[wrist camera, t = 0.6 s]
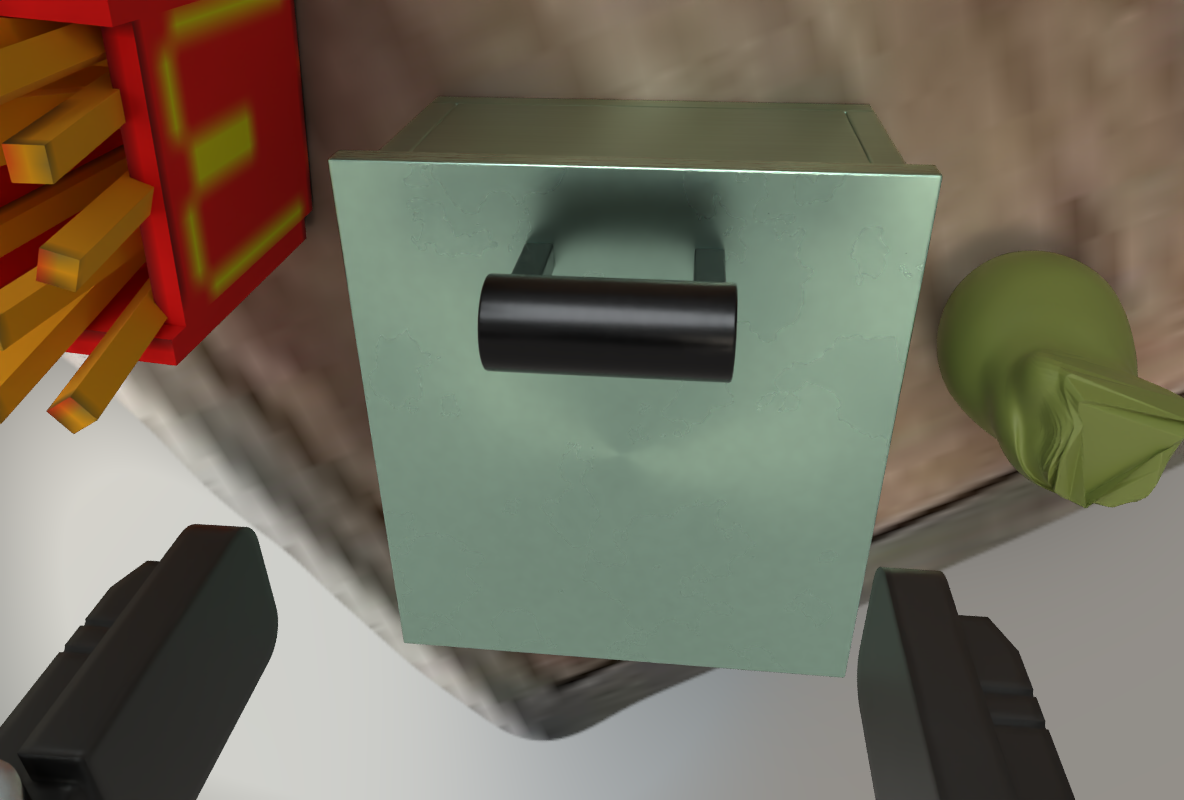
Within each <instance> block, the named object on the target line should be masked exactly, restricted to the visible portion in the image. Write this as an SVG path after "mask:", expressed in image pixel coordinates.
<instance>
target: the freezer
mask: <svg viewBox="0 0 1184 800" xmlns="http://www.w3.org/2000/svg"><path fill="white" fill-rule="evenodd" d="M379 151H402V152H442V153H481V154H521V155H561V156H600V157H640V158H679V159H719V160H759V161H798V162H838V163H878V164H906V163H905V161H904V160H903V158H902V156H901V155H900V153H899V151H898V150H897V148H896V147H895V145H894V143H893V142H892V140H891V138H890V137H889V135H888V133H887V132H886V130H885V129H884V127H883V125H882V124H881V122H880V120H879V119H878V117H877V115H876V114H875V112H874V111H873V109H872V108H871V106H870V105H864V104H812V103H760V102H707V101H655V100H603V99H550V98H498V97H446V96H439V97H437V98H436V99H435V100H434V101H433V102H432V103H430V104H429V105H428V106H427V107H426V108H425V109H424V110H422V111H421V112H420V113H419V114H418V115H417V116H416V117H415V118H414V119H413V120H412V121H411V122H410V123H408V124H407V125H406V126H405V127H404V128H403V129H402V130H401V131H400V132H399V133H398V134H397V135H396V136H394V137H393V138H392V139H391V140H390V141H389V142H388V143H387V144H386V145H385V146H384V147H383V148H381V149H380V150H379Z"/></svg>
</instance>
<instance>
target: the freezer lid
mask: <svg viewBox="0 0 1184 800" xmlns="http://www.w3.org/2000/svg"><path fill="white" fill-rule="evenodd" d="M328 166H329V172H330V178H331V185H332V191H333V197H334V204H335V210H336V216H337V223H338V229H339V235H340V241H341V248H342V254H343V260H344V267H345V273H346V279H347V286H348V292H349V298H350V305H351V311H352V317H353V323H354V330H355V336H356V342H357V349H358V355H359V361H360V368H361V374H362V380H363V386H364V393H365V399H366V405H367V412H368V418H369V424H370V431H371V437H372V443H373V450H374V456H375V462H376V468H377V475H378V481H379V487H380V494H381V500H382V506H383V513H384V519H385V525H386V531H387V538H388V544H389V550H390V557H391V563H392V569H393V576H394V582H395V588H396V595H397V601H398V607H399V613H400V620H401V626H402V632H403V639H404V643H412V644H425V645H438V646H450V647H463V648H476V649H488V650H501V651H513V652H526V653H539V654H551V655H564V656H577V657H589V658H602V659H615V660H627V661H640V662H653V663H665V664H678V665H690V666H703V667H716V668H729V669H741V670H754V671H766V672H780V673H792V674H805V675H817V676H829V677H842V678H843V677H844V676H845V673H846V668H847V663H848V658H849V652H850V648H851V642H852V637H853V632H854V627H855V622H856V616H857V611H858V607H859V602H860V596H861V591H862V586H863V581H864V576H865V571H866V566H867V561H868V556H869V550H870V545H871V540H872V535H873V530H874V525H875V520H876V515H877V510H878V504H879V499H880V494H881V489H882V484H883V479H884V474H885V469H886V464H887V458H888V453H889V448H890V443H891V438H892V433H893V428H894V423H895V418H896V412H897V407H898V402H899V397H900V392H901V387H902V382H903V377H904V371H905V366H906V361H907V356H908V351H909V346H910V341H911V336H912V331H913V325H914V320H915V315H916V310H917V305H918V300H919V295H920V290H921V285H922V279H923V274H924V269H925V264H926V259H927V254H928V249H929V244H930V239H931V233H932V228H933V223H934V218H935V213H936V208H937V203H938V198H939V193H940V187H941V182H942V174H941V173H940V171H939V170H938V169H937V167H936V166H935V165H917V164H878V163H838V162H798V161H759V160H719V159H679V158H640V157H600V156H561V155H521V154H481V153H442V152H402V151H362V150H339V151H337V152H336V153H335V154H334V155H332V156H331V157H330V158H329V159H328Z"/></svg>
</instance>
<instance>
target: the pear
mask: <svg viewBox="0 0 1184 800" xmlns="http://www.w3.org/2000/svg"><path fill="white" fill-rule="evenodd" d="M937 358H938V364H939V368H940V372H941V375H942V378H943V380H944V383H945V385H946V387H947V389H948V390H949V392H950V394H951V395H952V397H953V398H954V400H955V401H956V402H957V404H958V405H959V406H960V407H961V408H962V410H963V411H964V412H965V413H966V414H967V415H968V416H969V417H970V418H971V419H972V420H973V421H974V422H975V423H976V424H977V425H979V426H980V427H981V428H982V429H983V430H985V431H986V432H987V433H989V434H990V435H991V436H993V437H994V438H996V439H997V440H998V442H999V445H1000V447H1001V449H1002V451H1003V453H1004V454H1005V456H1006V457H1007V459H1008V460H1009V462H1010V463H1011V464H1012V465H1013V467H1014V468H1015V469H1016V470H1017V471H1018V472H1019V473H1020V474H1022V475H1023V476H1024V477H1025V478H1027V479H1028V480H1030V481H1031V482H1033V483H1035V484H1037V485H1039V486H1041V487H1043V488H1045V489H1047V490H1049V491H1052V492H1055V493H1057V494H1058V495H1059V496H1060V497H1062V498H1065V499H1067V500H1070V501H1072V502H1074V503H1076V504H1078V505H1080V506H1082V507H1084V508H1088V506H1089V505H1091V504H1093V503H1095V504H1099V505H1102V506H1108V507H1116V506H1119V505H1122V504H1126V503H1130V502H1137V501H1138V500H1141V499H1143V498H1146V497H1147V496H1148V495H1149V494H1150V493H1151V491H1152V490H1153V489H1154V488H1155V486H1156V484H1157V483H1158V481H1159V479H1160V477H1161V475H1162V473H1163V471H1164V469H1165V466H1166V464H1167V462H1168V461H1169V459H1170V458H1171V456H1172V455H1173V454H1174V452H1175V450H1176V449H1177V447H1178V446H1179V444H1180V443H1181V442H1182V441H1183V440H1184V398H1183V397H1181V396H1179V395H1177V394H1175V393H1173V392H1171V391H1169V390H1167V389H1165V388H1162V387H1160V386H1158V385H1155V384H1153V383H1151V382H1148V381H1146V380H1143V379H1141V378H1138V377H1137V359H1136V351H1135V346H1134V341H1133V336H1132V332H1131V329H1130V325H1129V322H1128V319H1127V316H1126V314H1125V311H1124V309H1123V307H1122V305H1121V303H1120V301H1119V299H1118V297H1117V295H1116V293H1115V292H1114V290H1113V289H1112V288H1111V286H1110V285H1109V284H1108V283H1107V282H1106V281H1105V280H1104V279H1103V278H1102V277H1101V276H1100V275H1099V274H1098V273H1096V272H1095V271H1094V270H1092V269H1091V268H1089V267H1088V266H1086V265H1084V264H1083V263H1081V262H1079V261H1077V260H1074V259H1072V258H1069V257H1067V256H1063V255H1060V254H1056V253H1051V252H1045V251H1018V252H1012V253H1007V254H1004V255H1000V256H998V257H995V258H993V259H990V260H988V261H987V262H985V263H983V264H981V265H980V266H978V267H977V268H976V269H974V270H973V271H972V272H971V273H969V274H968V275H967V276H966V277H965V278H964V279H963V280H962V281H961V282H960V284H959V285H958V286H957V287H956V289H955V290H954V291H953V293H952V294H951V296H950V298H949V299H948V301H947V303H946V305H945V308H944V310H943V313H942V316H941V319H940V323H939V327H938V333H937Z"/></svg>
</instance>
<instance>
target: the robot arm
mask: <svg viewBox="0 0 1184 800" xmlns="http://www.w3.org/2000/svg"><path fill="white" fill-rule="evenodd" d="M85 620H86V622H85V625H84V626H80V627H79V628H78V629H77V631H76V632H75V633H74V634H73V636H72V637H71V638H70V639H69V641H68V642H67V643H66V644H65V650H64V652H59V653H58V655H57V656H56V657H55V658H54V660H53V661H52V662H51V664H50V665H49V666H48V668H47V669H46V670H45V671H44V672H43V674H42V675H41V676H40V677H39V679H38V680H37V681H36V683H35V684H34V685H33V686H32V688H31V689H30V690H29V691H28V693H27V694H26V695H25V697H24V698H23V699H22V700H21V702H20V703H19V704H18V705H17V707H16V708H15V709H14V711H13V712H12V713H11V714H10V715H9V717H8V718H7V719H6V721H5V722H4V723H3V724H2V726H1V727H0V800H196V799H197V797H198V795H199V793H200V791H201V789H202V787H203V786H204V784H205V782H206V780H207V778H208V776H209V774H210V772H211V770H212V768H213V767H214V765H215V763H216V761H217V759H218V757H219V755H220V753H221V751H222V749H223V748H224V746H225V744H226V742H227V740H228V738H229V736H230V734H231V732H232V730H233V729H234V727H235V725H236V723H237V721H238V719H239V717H240V715H241V713H242V711H243V710H244V708H245V706H246V704H247V702H248V700H249V698H250V696H251V694H252V692H253V691H254V689H255V687H256V685H257V683H258V681H259V679H260V677H261V675H262V673H263V672H264V670H265V668H266V666H267V664H268V662H269V660H270V658H271V655H272V653H273V650H274V647H275V643H276V638H277V631H278V615H277V609H276V605H275V601H274V597H273V594H272V590H271V586H270V583H269V579H268V575H267V571H266V568H265V564H264V560H263V556H262V553H261V549H260V545H259V542H258V539H257V536H256V534H255V532H254V531H253V530H252V529H250V528H248V527H236V526H219V525H202V524H193V525H190V526H188V527H187V528H186V529H184V530H183V532H182V533H181V534H180V535H179V537H178V538H177V539H176V541H175V542H174V543H173V545H172V546H171V547H170V549H169V550H168V551H167V553H166V554H165V555H164V557H163V558H162V559H161V561H160V562H159V561H146V562H145V563H143V564H142V565H141V566H139V567H138V568H137V569H135V570H134V571H132V572H131V573H130V574H128V575H127V576H126V577H124V578H123V579H122V580H120V581H119V582H117V583H116V584H114V585H113V586H112V587H110V589H109V590H108V591H107V592H106V594H105V595H104V596H103V598H102V599H101V600H100V602H99V603H98V604H97V605H96V607H95V608H94V609H93V610H92V612H91V613H90V614H89V615H88V617H87V618H86V619H85ZM857 687H858V700H859V707H860V713H861V718H862V724H863V730H864V736H865V741H866V747H867V753H868V759H869V764H870V770H871V776H872V781H873V787H874V793H875V798H876V800H1075V798H1074V795H1073V793H1072V790H1071V787H1070V785H1069V782H1068V779H1067V777H1066V774H1065V772H1064V769H1063V766H1062V764H1061V761H1060V758H1059V756H1058V753H1057V751H1056V748H1055V745H1054V743H1053V740H1052V737H1051V735H1050V733H1049V730H1047V729H1046V728H1045V719H1044V717H1043V714H1042V711H1041V709H1040V706H1039V703H1038V701H1037V698H1036V697H1033V688H1032V685H1031V682H1030V680H1029V677H1028V675H1027V672H1026V669H1025V667H1024V664H1023V661H1022V659H1021V656H1020V654H1019V651H1018V650H1017V649H1016V648H1015V647H1014V646H1013V644H1012V643H1011V642H1010V641H1009V640H1008V639H1007V638H1006V637H1005V636H1004V635H1003V633H1002V632H1001V631H1000V630H999V629H998V628H997V627H996V626H995V624H994V623H992V621H991V620H990V619H989V618H988V617H978V616H963V615H958V613H957V610H956V606H955V603H954V600H953V597H952V594H951V591H950V588H949V585H948V582H947V579H946V577H945V575H944V574H943V572H941V571H935V570H918V569H901V568H885V567H879V568H878V569H877V571H876V573H875V576H874V580H873V585H872V590H871V595H870V600H869V605H868V610H867V616H866V620H865V625H864V630H863V635H862V640H861V645H860V650H859V657H858V669H857Z"/></svg>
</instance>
